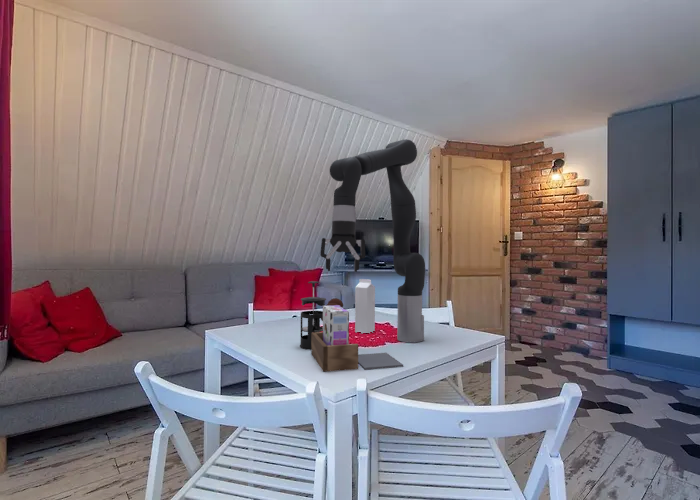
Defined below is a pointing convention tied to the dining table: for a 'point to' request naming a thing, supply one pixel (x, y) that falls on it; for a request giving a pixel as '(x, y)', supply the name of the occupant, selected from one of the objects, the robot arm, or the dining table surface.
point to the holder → (333, 354)
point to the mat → (377, 361)
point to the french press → (311, 319)
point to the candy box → (335, 325)
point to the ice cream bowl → (334, 303)
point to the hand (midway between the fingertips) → (342, 271)
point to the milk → (364, 306)
